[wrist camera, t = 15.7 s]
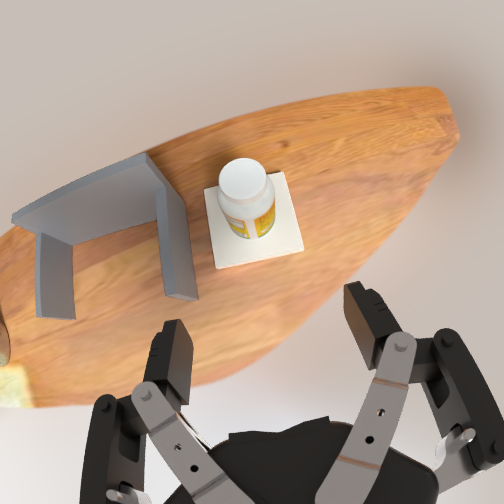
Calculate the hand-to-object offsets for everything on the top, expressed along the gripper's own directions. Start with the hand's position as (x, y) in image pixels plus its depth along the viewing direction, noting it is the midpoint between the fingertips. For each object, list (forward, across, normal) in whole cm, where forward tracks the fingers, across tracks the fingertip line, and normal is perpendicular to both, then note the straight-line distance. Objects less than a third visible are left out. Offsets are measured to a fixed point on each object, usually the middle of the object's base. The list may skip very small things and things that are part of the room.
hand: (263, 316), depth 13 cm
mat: (+20, 0, +4) cm, 21 cm away
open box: (+19, +18, +5) cm, 27 cm away
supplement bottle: (+20, 0, +4) cm, 20 cm away
